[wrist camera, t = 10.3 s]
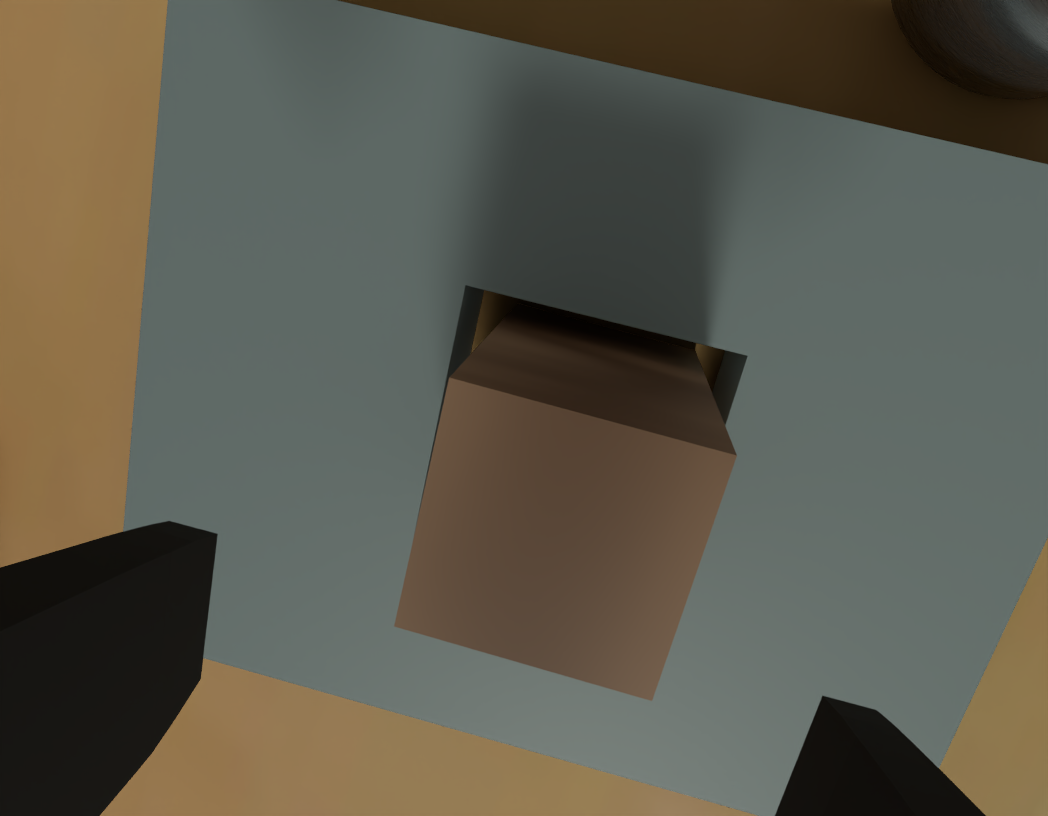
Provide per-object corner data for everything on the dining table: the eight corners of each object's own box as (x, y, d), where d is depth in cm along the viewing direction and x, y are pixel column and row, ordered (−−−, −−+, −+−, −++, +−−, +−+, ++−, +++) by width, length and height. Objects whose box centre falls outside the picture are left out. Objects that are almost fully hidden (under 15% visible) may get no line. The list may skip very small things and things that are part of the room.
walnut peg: (478, 467, 19) (393, 626, 12) (517, 303, 17) (449, 377, 11) (643, 513, 18) (652, 701, 12) (695, 350, 17) (737, 456, 11)
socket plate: (174, 580, 21) (114, 633, 18) (238, -7, 16) (171, -39, 14) (864, 772, 19) (897, 855, 17) (1117, 198, 15) (1206, 201, 13)
